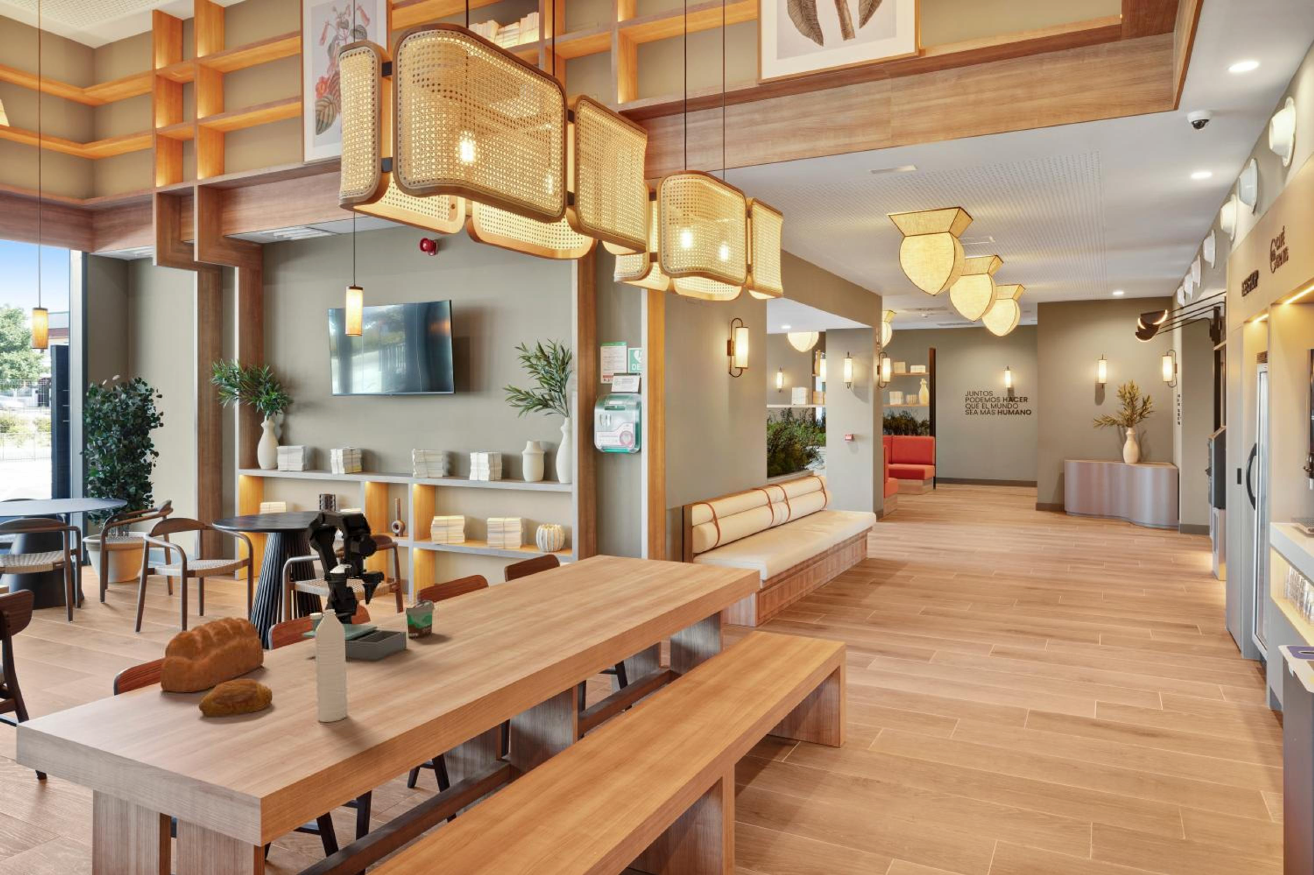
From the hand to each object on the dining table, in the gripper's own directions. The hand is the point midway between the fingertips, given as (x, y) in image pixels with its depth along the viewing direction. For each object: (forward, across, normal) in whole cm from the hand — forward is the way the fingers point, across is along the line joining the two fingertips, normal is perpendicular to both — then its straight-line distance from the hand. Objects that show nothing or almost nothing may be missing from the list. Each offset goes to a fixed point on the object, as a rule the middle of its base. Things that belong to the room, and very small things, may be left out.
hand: (355, 603), depth 262 cm
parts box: (+12, +12, -9) cm, 19 cm away
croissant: (+12, +13, -58) cm, 61 cm away
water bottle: (+12, +40, -59) cm, 72 cm away
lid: (+7, +2, -9) cm, 11 cm away
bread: (+12, -14, -41) cm, 45 cm away
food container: (+12, +16, +13) cm, 24 cm away
